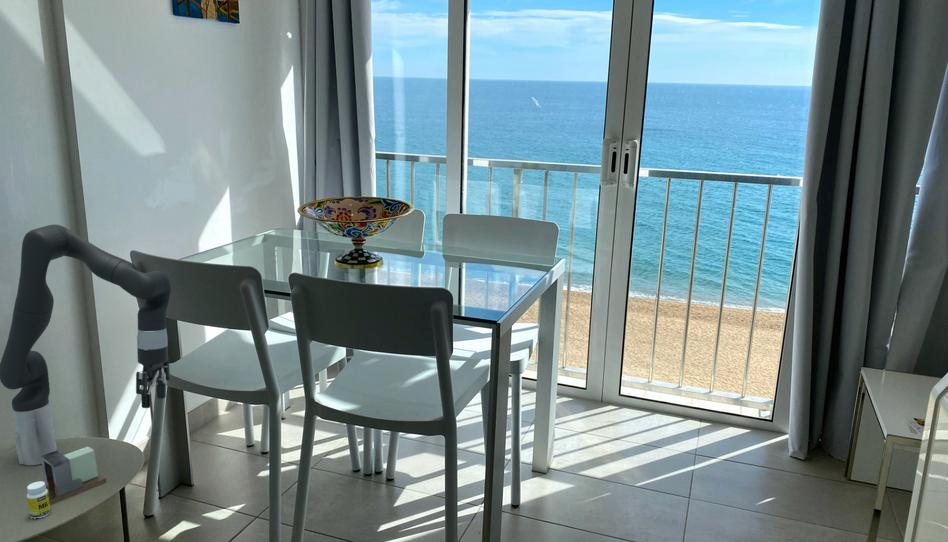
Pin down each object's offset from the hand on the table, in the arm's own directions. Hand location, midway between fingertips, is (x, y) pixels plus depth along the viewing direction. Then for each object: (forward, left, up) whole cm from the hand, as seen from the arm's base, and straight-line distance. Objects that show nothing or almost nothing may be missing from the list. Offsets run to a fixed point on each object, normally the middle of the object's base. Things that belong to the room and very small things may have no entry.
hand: (153, 402), depth 193 cm
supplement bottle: (-28, -10, -24) cm, 38 cm away
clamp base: (-25, +2, -24) cm, 35 cm away
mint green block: (-23, +4, -23) cm, 32 cm away
